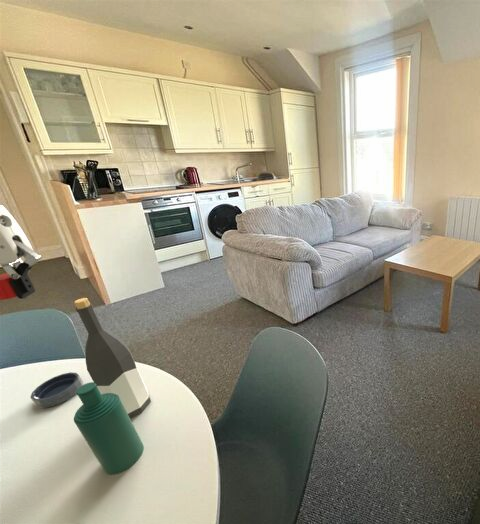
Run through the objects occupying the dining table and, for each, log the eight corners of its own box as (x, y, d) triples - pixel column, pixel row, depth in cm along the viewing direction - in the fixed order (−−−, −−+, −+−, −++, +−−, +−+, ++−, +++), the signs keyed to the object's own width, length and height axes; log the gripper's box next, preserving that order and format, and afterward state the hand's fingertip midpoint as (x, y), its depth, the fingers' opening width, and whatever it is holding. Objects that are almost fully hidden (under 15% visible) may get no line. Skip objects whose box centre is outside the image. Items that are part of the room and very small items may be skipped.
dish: (26, 413, 69) (20, 404, 68) (51, 385, 77) (46, 376, 76) (70, 403, 71) (65, 394, 70) (90, 377, 79) (86, 369, 78)
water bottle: (97, 479, 54) (51, 408, 47) (113, 446, 60) (75, 378, 53) (136, 468, 56) (97, 397, 48) (148, 437, 62) (116, 370, 54)
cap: (31, 291, 55) (22, 273, 54) (2, 301, 52) (-9, 283, 50) (21, 288, 57) (11, 271, 55) (-8, 298, 53) (-20, 280, 52)
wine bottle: (139, 389, 74) (93, 287, 63) (159, 399, 71) (114, 294, 59) (104, 414, 68) (45, 306, 56) (124, 426, 64) (65, 314, 53)
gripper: (35, 193, 52) (76, 282, 60) (-82, 201, 49) (-23, 294, 56) (0, 200, 46) (51, 299, 53) (-139, 210, 42) (-64, 315, 49)
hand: (12, 296), depth 54 cm, fingers closed on cap, 3 cm apart
